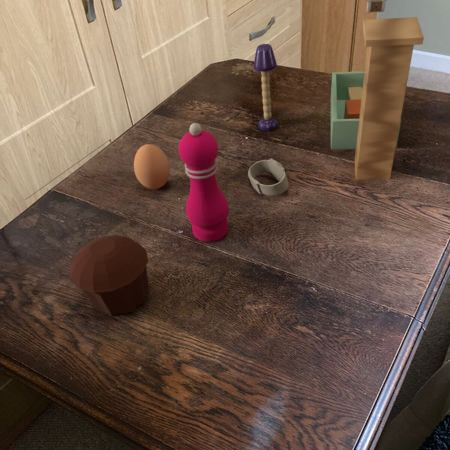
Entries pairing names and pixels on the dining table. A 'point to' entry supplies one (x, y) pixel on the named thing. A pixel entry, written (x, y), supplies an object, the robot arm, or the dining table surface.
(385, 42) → the stand
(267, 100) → the toy lamp
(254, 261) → the dining table surface
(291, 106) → the dining table surface
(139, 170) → the egg
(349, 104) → the mallet
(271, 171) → the grey band loop
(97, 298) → the muffin
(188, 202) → the pepper mill
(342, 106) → the bin
